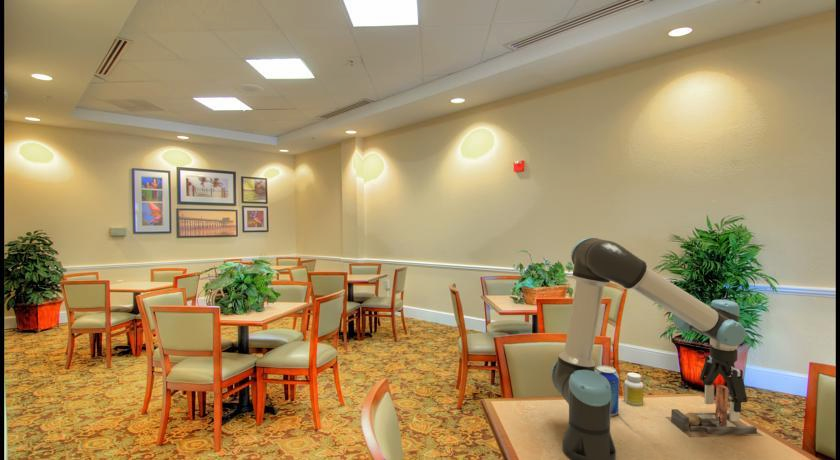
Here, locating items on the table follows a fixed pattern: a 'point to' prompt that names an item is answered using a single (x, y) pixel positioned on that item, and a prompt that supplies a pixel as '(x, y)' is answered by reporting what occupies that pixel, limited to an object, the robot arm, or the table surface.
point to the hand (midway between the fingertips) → (721, 411)
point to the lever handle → (718, 410)
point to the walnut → (693, 419)
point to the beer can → (614, 384)
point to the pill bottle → (633, 390)
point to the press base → (710, 427)
